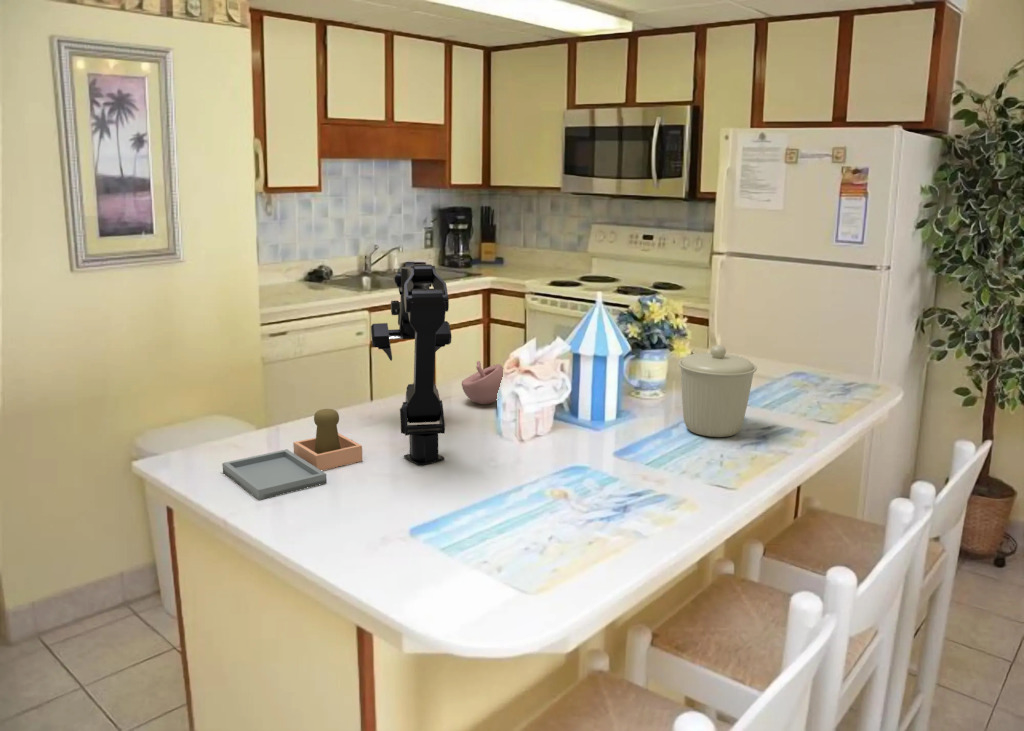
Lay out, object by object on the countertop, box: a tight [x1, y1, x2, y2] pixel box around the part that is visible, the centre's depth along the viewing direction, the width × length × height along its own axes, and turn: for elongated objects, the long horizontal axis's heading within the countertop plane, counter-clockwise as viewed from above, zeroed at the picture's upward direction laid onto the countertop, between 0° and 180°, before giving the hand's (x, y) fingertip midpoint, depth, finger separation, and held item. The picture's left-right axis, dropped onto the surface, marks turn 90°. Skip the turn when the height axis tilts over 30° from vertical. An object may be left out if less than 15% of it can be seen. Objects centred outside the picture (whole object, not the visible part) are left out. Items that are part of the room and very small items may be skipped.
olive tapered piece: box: [313, 408, 341, 454], centre depth 180 cm, size 6×6×11 cm
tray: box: [221, 449, 328, 501], centre depth 171 cm, size 18×14×2 cm
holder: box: [293, 432, 363, 471], centre depth 181 cm, size 11×11×4 cm
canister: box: [677, 344, 758, 438], centre depth 202 cm, size 18×18×21 cm
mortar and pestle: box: [461, 360, 504, 405], centre depth 223 cm, size 12×12×11 cm
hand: (409, 358), depth 208 cm, fingers open, 9 cm apart
